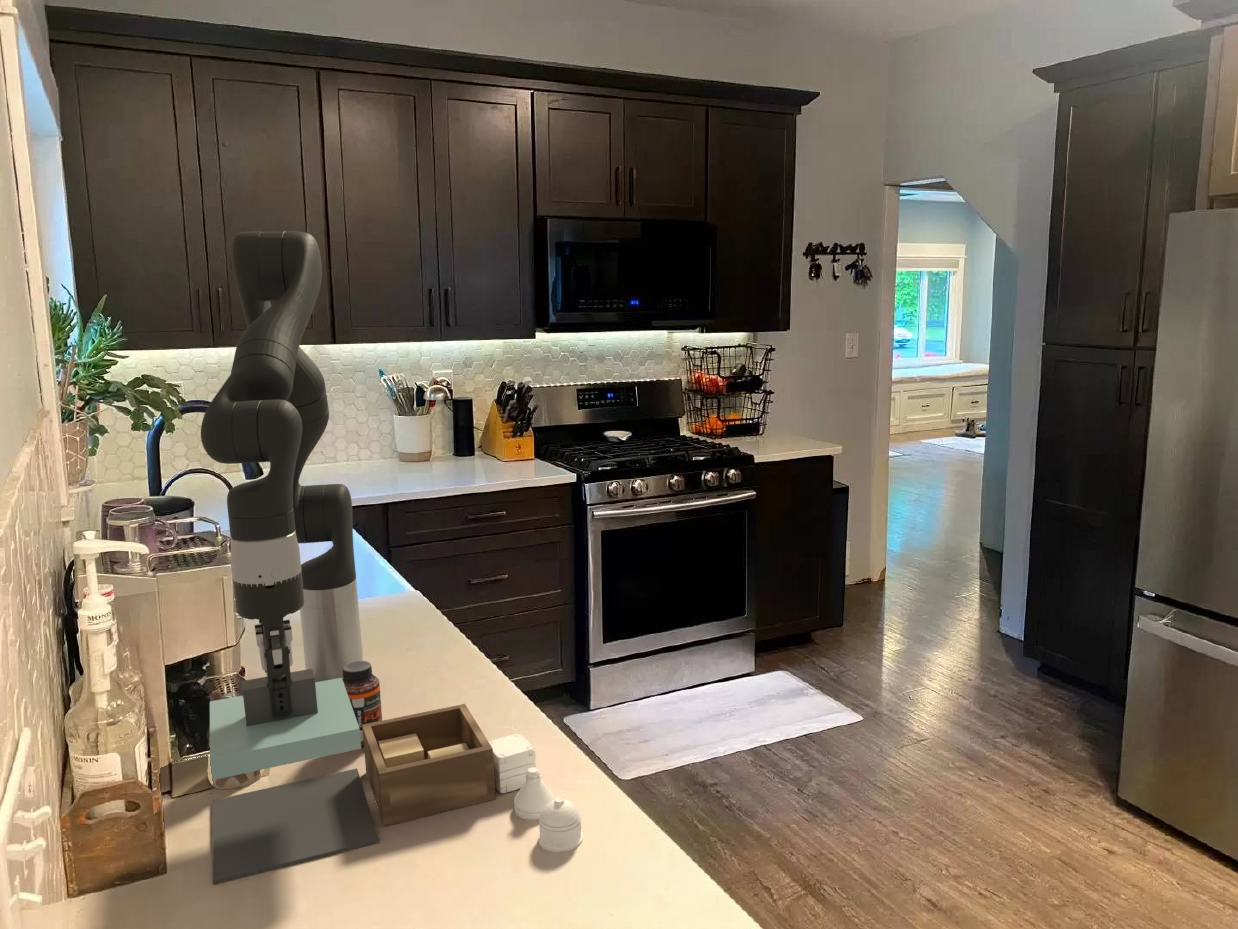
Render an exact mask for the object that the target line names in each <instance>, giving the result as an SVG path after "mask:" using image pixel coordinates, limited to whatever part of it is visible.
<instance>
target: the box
mask: <svg viewBox="0 0 1238 929" xmlns="http://www.w3.org/2000/svg"><path fill="white" fill-rule="evenodd" d="M362 731H363V743H364V747H363V753H364V764H365V765H364V766H365V774H366V777H367V780H368V782H369V787H370V790H371V793H372V792H373V793H372V795H374V796H373V798H375V799H374V801H376V802H375V804H377V805H376V807H378V808H377V811H378V810H379V811H378V814H379V817H380V820H381V823H382V827H383V828H384V827H389V826H394V825H397V824H401V822H402V823H406V822H409V821H413V820H416V819H420V818H421V819H422V818H425V817H429V816H434V815H438V814H442V813H446V812H450V811H453V810H457V809H462V808H465V807H466V808H467V807H470V806H474V805H478V804H482V803H487V802H490V801H494V800H496V788H495V781H494V763H493V748H492V747H491V745H490V743H489V742H488V741H489V740H488V739H487V737H486V735H485V734H484V732H483V731H482V729H481V728H480V726H479V724H478V722H477V721H476V719H475V718H474V716H473V714H472V713H471V711H470V709H469V708H468V707H467V705H466V703H462V704H457V705H453V706H447V707H443V708H437V709H433V710H427V711H422V712H418V713H417V712H416V713H413V714H409V715H404V716H403V715H402V716H398V717H394V718H388V719H384V720H383V719H382V721H378V722H373V723H368V724H363V725H362Z"/></svg>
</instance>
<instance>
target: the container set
mask: <svg viewBox="0 0 1238 929" xmlns="http://www.w3.org/2000/svg"><path fill="white" fill-rule="evenodd" d="M488 742H489V743H490V745H491V747H492V748H493V763H494V781H495V790H496V791H498V793H499V794H507V793H509V792H510V793H511V792H513V791H515V790H519V791H518V792H517V794H515V797H514V800H513V802H514V804H513V805H514V814H515V815H516V816H517V817H518V818H521V819H524V820H527V821H535V820H538V827H539V828H538V829H539V835H538V837H537V838H538V844H539V845H540V847H541V848H542V849H544V850H545V851H549V852H553V853H565V852H569V851H572V850H574V849H576V848H577V847H579V846H580V845H581V844H582V842H583V840H584V834H583V831H582V815H581V813H580V810H579V808H578V807H577V805H576V804H574V803H573V802H572V801H570V800H567V799H564V798H563V797H556V798H555V794H553V792H552V791H551V790H550V788H549V787H548V786H547V785H546V783H545V782H544V781H543V780H542V779H541V778H542V777H541V770H540V769H539V768H537V766H536V750H535V747H534V746H533V745H532V744H531V743H530V741H528V740H527V739H526V738H525V737H524V736H523V735H522V733H515V734H510V735H507V736H504V737H499V738H496V739H492V740H488Z"/></svg>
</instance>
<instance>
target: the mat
mask: <svg viewBox="0 0 1238 929" xmlns="http://www.w3.org/2000/svg"><path fill="white" fill-rule="evenodd" d="M358 770H359V769H358V768H353V769H348V770H343V771H340V772H339V771H338V772H334V773H331V774H330V773H329V774H326V775H325V774H324V775H321V776H316V777H312V778H308V779H304V780H298V781H293V782H288V783H285V784H281V785H276V786H270V787H267V788H262V789H258V790H253V791H249V792H244V793H243V792H242V793H240V794H235V795H230V796H226V797H223V798H222V797H221V798H218V799H213V800H212V883H213V884H212V885H216V884H220V883H223V882H224V883H225V882H228V881H233V880H236V879H239V878H244V877H245V878H246V877H248V876H253V875H256V874H260V873H264V872H268V871H272V870H276V869H280V868H283V867H288V866H291V865H296V864H299V863H303V862H307V861H311V860H312V861H313V860H314V859H315V860H316V859H319V858H323V857H326V856H327V857H328V856H331V855H335V854H340V853H342V852H346V851H350V850H355V849H359V848H362V847H367V846H371V845H374V844H378V843H380V837H379V835H378V832H377V828H376V825H375V822H374V819H373V816H372V812H371V808H370V805H369V802H368V800H367V796H366V792H365V790H364V789H365V788H364V786H363V783H362V780H361V775H360V773H359V771H358Z"/></svg>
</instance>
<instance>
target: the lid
mask: <svg viewBox="0 0 1238 929" xmlns="http://www.w3.org/2000/svg"><path fill="white" fill-rule="evenodd" d="M290 675H291V679H292V683H291V687H290V696H291V706H292V714H291V715H290V716H286V717H281V718H274V717H273V716H272V709H271V699H270V690H269V688H267V683H268V679H267V676H263V677H262V676H261V677H257V678H251V679H250V678H249V679H246V680H241V688H242V696H238V697H232V698H227V699H221V700H216V701H214V700H210V701H209V738H210V766H211V774H212V780H215V779H220V778H225V777H229V776H234V775H239V774H244V773H248V772H253V771H258V770H262V769H265V770H267V769H271V768H276V767H281V766H286V765H291V764H295V763H301V762H305V761H310V760H314V759H318V758H323V757H329V756H333V755H337V754H342V753H347V752H351V751H356V750H361V749H362V747H361V740H360V728H359V726H358V723H357V720H356V717H355V714H354V711H353V708H352V705H351V703H350V700H349V697H348V694H347V691H346V688H345V685H344V682H343V680H342V678H337V679H332V680H326V681H321V682H315V677H314V673H313V670H312V669H307V670H306V669H301V670H298V671H292V672H291V671H290ZM283 676H285V675H278V676H274V677H273V678H277V677H283Z"/></svg>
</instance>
